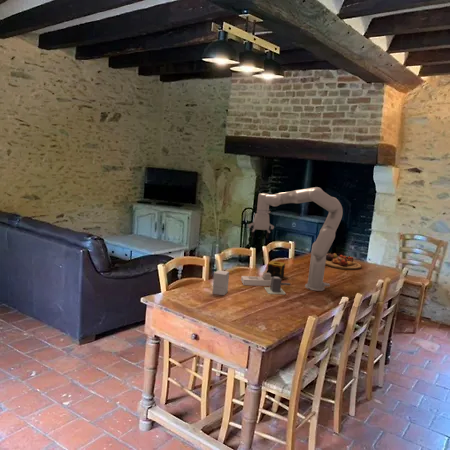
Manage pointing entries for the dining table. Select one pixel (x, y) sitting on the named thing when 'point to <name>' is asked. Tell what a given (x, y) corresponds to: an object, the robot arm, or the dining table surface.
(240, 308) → the dining table surface
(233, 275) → the dining table surface
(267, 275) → the small plug
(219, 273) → the supplement box
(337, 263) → the wooden plate with food
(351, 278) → the dining table surface
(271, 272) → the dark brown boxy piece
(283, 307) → the dining table surface
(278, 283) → the block
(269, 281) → the power strip
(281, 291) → the felt pad
